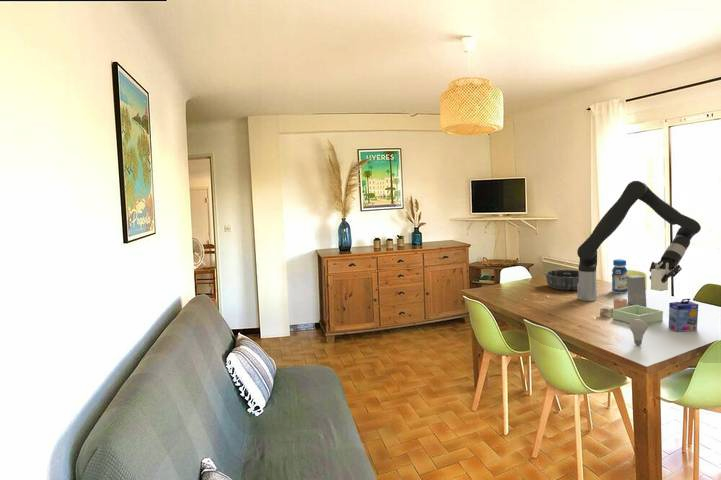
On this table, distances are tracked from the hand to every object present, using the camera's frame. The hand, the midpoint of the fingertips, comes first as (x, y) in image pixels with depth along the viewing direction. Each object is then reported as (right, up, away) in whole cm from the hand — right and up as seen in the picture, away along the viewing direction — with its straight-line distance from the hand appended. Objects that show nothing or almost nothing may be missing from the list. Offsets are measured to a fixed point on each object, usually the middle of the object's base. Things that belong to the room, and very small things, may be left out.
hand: (656, 280), depth 212 cm
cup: (+2, -5, +1) cm, 5 cm away
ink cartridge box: (-2, -20, -20) cm, 28 cm away
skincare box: (+6, -16, +25) cm, 30 cm away
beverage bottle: (+14, -12, +53) cm, 56 cm away
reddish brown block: (-11, -18, +11) cm, 24 cm away
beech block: (-21, -19, +6) cm, 29 cm away
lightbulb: (-32, -23, -35) cm, 53 cm away
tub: (-12, -19, -3) cm, 22 cm away
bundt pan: (-9, -12, +72) cm, 74 cm away
